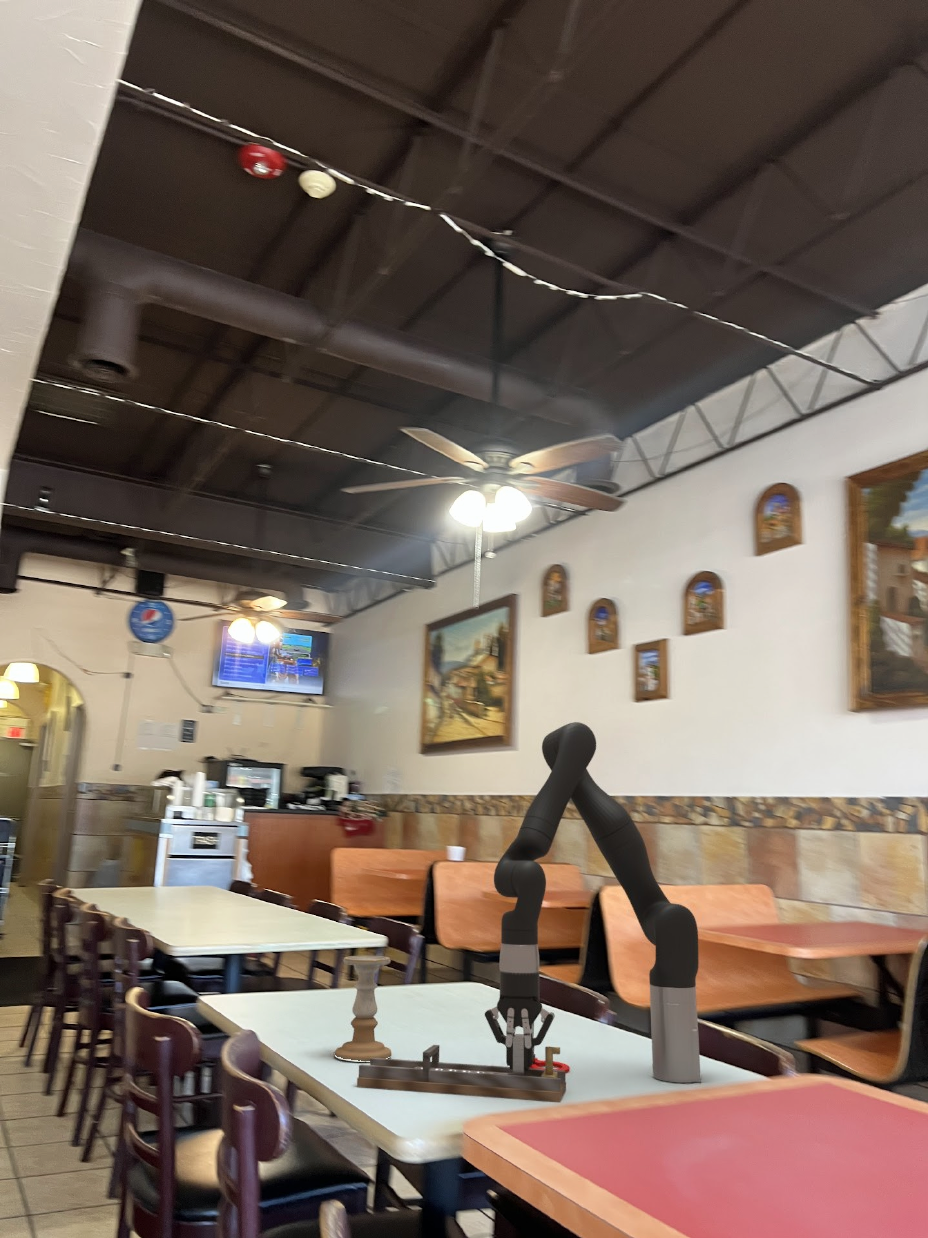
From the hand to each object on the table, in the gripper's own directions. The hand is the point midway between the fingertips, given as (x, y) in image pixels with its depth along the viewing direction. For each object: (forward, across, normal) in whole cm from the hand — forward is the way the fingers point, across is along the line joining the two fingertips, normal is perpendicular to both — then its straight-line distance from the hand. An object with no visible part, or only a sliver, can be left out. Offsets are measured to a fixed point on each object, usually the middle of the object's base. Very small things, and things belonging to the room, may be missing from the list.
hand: (519, 1068), depth 165 cm
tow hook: (+4, -2, -22) cm, 22 cm away
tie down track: (+4, +11, 0) cm, 12 cm away
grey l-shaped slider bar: (+2, +10, 0) cm, 10 cm away
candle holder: (+4, +38, -22) cm, 44 cm away
